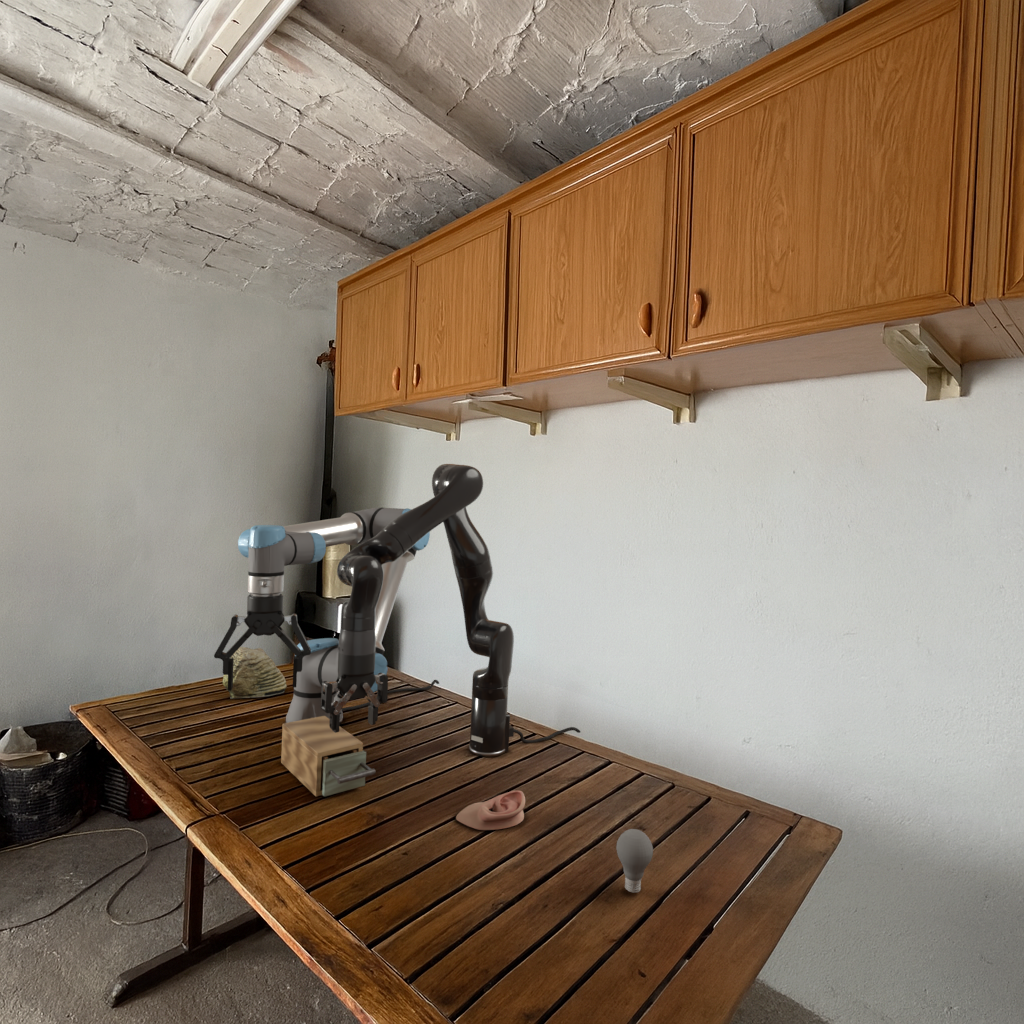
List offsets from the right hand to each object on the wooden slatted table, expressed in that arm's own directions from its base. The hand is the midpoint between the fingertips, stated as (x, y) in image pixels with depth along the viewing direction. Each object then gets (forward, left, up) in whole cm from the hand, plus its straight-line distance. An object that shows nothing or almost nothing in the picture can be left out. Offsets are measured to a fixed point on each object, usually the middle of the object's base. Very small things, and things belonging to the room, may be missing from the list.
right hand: (353, 727), depth 132 cm
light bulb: (-38, +47, -16) cm, 62 cm away
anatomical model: (-25, +16, -16) cm, 34 cm away
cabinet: (+4, -16, -16) cm, 22 cm away
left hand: (+17, -20, +4) cm, 26 cm away
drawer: (+3, -9, -15) cm, 18 cm away
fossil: (+15, -79, -16) cm, 82 cm away
